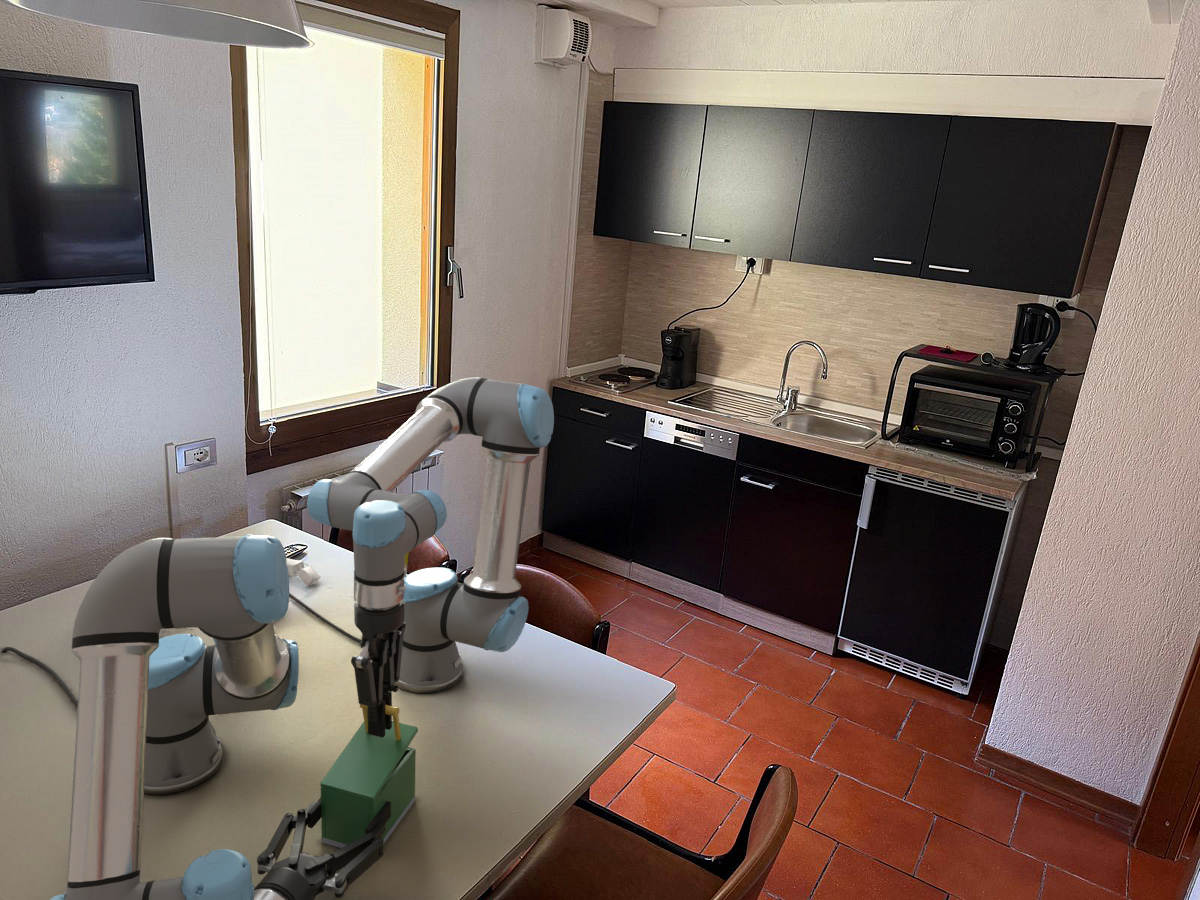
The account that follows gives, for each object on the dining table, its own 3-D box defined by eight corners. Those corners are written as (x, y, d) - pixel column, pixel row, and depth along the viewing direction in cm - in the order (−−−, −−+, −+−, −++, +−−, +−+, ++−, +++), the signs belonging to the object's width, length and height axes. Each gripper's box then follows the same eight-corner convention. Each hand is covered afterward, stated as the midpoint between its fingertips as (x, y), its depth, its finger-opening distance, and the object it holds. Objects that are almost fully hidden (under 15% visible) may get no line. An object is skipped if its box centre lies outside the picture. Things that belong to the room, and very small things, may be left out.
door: (368, 718, 144) (363, 684, 141) (418, 730, 142) (414, 696, 139) (320, 787, 132) (313, 751, 128) (374, 801, 130) (368, 766, 126)
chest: (366, 787, 148) (366, 736, 145) (415, 800, 146) (416, 748, 143) (321, 842, 135) (320, 787, 132) (373, 857, 133) (373, 802, 130)
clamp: (253, 565, 223) (254, 542, 221) (265, 560, 226) (266, 537, 224) (309, 593, 215) (310, 569, 213) (320, 588, 218) (321, 564, 216)
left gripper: (205, 908, 119) (300, 803, 139) (345, 954, 114) (423, 837, 134) (202, 865, 116) (299, 764, 137) (345, 909, 111) (423, 798, 132)
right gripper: (377, 627, 124) (378, 763, 131) (423, 585, 137) (421, 711, 144) (331, 617, 126) (334, 752, 133) (381, 576, 139) (381, 701, 146)
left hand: (360, 801), depth 136 cm, fingers closed on chest, 9 cm apart
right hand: (379, 730), depth 139 cm, fingers closed on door
